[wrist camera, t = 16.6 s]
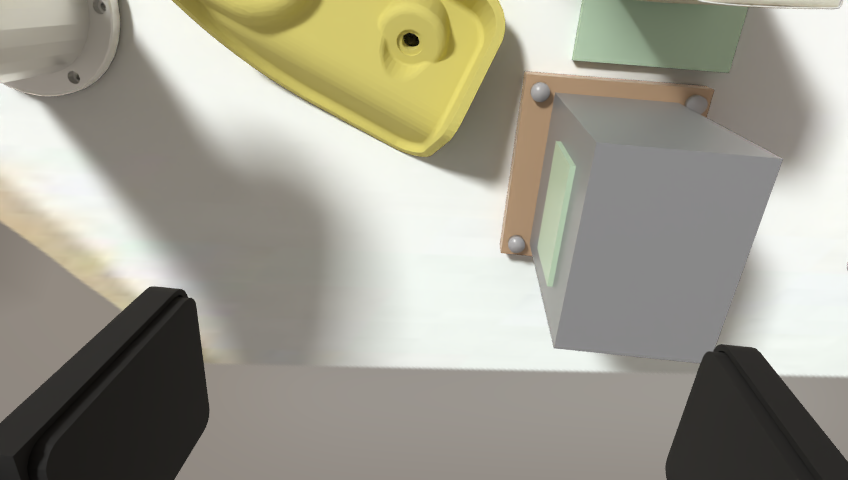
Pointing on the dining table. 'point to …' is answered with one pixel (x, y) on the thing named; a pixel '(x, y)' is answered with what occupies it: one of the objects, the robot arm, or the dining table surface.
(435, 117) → the plastic component
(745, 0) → the skincare box
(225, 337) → the dining table surface
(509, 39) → the dining table surface
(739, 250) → the mounted unit
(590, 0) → the mat
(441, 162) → the dining table surface
